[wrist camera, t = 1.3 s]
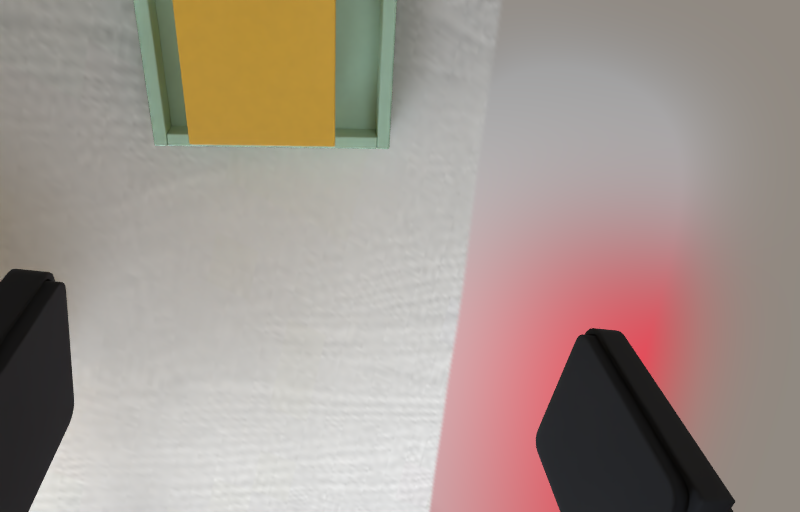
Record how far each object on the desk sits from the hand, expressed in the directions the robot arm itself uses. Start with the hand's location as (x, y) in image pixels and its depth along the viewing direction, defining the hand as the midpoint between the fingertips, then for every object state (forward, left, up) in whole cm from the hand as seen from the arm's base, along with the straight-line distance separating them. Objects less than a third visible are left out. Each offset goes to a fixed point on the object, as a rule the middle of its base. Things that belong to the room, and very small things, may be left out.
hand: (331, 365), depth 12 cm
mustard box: (+1, -3, -16) cm, 16 cm away
